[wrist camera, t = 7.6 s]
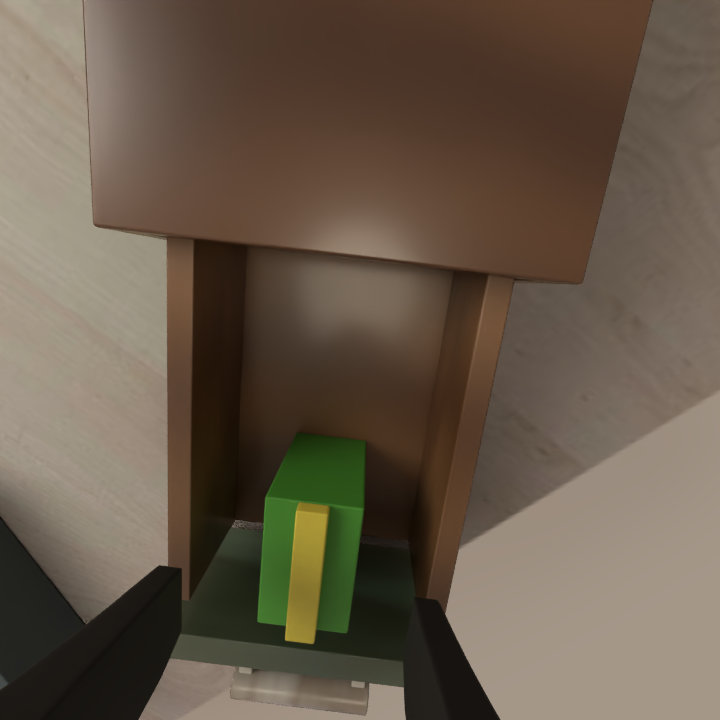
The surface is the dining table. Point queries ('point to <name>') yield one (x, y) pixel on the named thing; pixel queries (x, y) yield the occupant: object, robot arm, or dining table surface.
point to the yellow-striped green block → (312, 536)
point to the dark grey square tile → (28, 611)
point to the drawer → (328, 418)
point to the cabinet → (363, 126)
